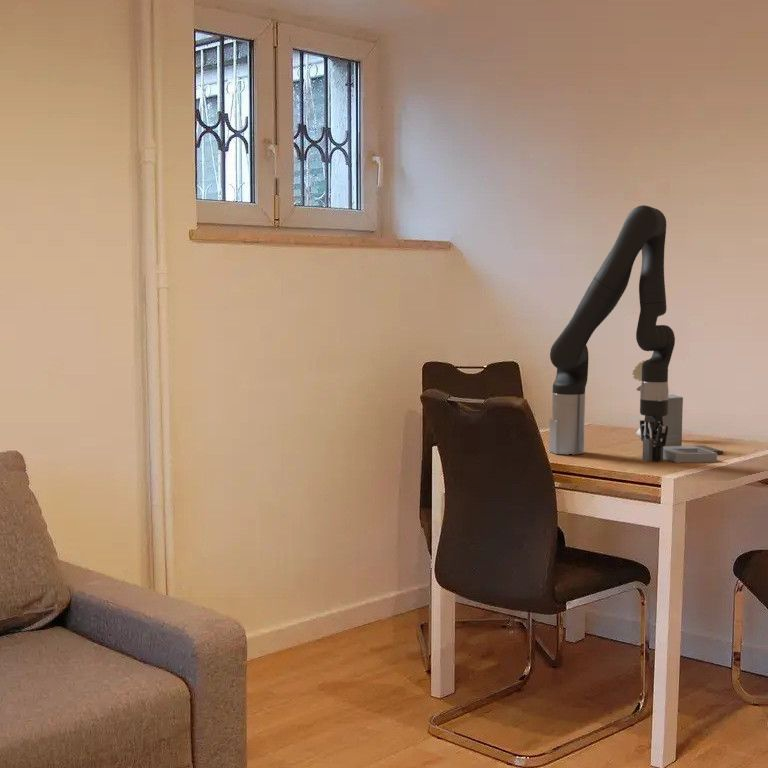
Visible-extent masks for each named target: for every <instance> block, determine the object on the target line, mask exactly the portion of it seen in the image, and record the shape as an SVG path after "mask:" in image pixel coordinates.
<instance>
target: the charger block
mask: <svg viewBox="0 0 768 768" xmlns="http://www.w3.org/2000/svg"><path fill="white" fill-rule="evenodd" d="M662 440H663V439H662ZM655 441H656V439H655ZM652 448H653V445H652V439H650V438H643V441H642V457H641V458H642V459H643V461H645V460H646V461H645V462H649V463H654V461H653V460H652ZM651 461H652V462H651ZM660 461H662V462H664V458H663V446H662V447H661V460H660Z"/></svg>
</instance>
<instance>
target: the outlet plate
mask: <svg viewBox="0 0 768 768" xmlns="http://www.w3.org/2000/svg"><path fill="white" fill-rule="evenodd" d="M663 460H667V461H669V460H670V462H672V461H673V462H672V463H676V464H677V463H679V464H681V462H687V463H712V462H713V463H715V462H716V463H717V461H718V455H717V453H715V452H712V451H709V450H706V449H703V448H700V447H696V446H694V445H682V446H663Z"/></svg>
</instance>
